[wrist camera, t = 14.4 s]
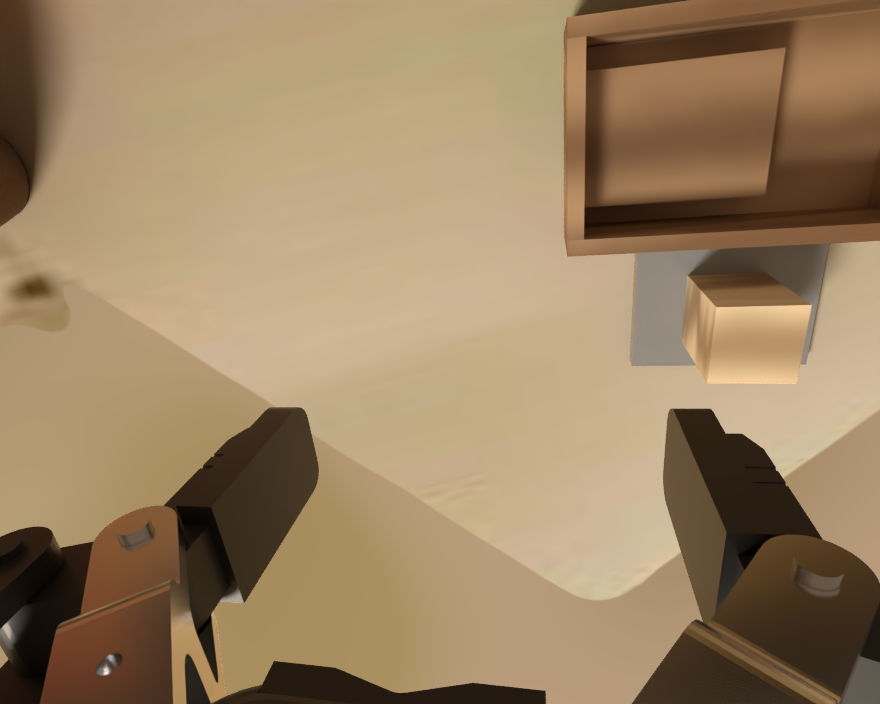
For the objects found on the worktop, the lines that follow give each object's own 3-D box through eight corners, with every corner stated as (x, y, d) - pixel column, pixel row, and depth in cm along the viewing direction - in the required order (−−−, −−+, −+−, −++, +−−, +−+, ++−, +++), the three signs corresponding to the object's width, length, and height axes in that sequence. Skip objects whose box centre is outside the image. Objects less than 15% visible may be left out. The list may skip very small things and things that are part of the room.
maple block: (687, 275, 37) (716, 307, 31) (765, 272, 36) (811, 305, 30) (681, 340, 39) (707, 383, 33) (755, 339, 38) (796, 383, 32)
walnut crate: (563, 33, 34) (567, 17, 28) (929, -16, 30) (1015, -46, 24) (564, 237, 39) (567, 256, 33) (876, 219, 35) (938, 237, 29)
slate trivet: (635, 247, 38) (637, 250, 37) (822, 237, 36) (829, 240, 35) (630, 360, 42) (631, 365, 41) (800, 358, 39) (806, 364, 38)
